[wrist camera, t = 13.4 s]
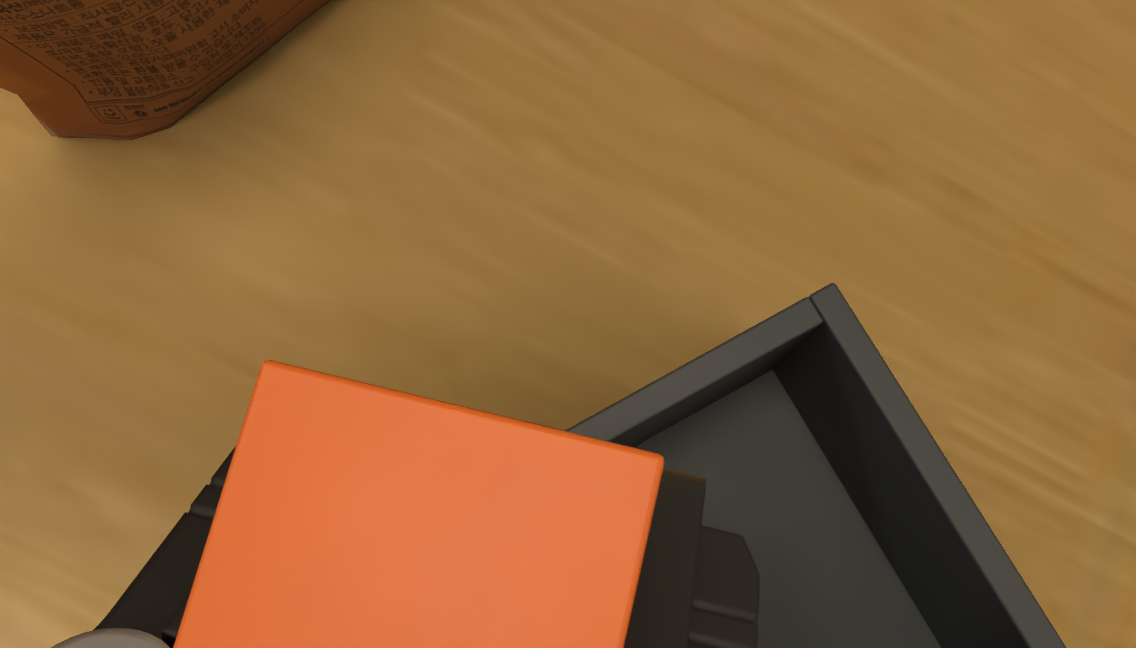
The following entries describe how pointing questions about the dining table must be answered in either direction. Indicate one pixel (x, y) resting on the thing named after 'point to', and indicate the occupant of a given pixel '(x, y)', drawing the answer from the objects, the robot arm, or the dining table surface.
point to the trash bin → (831, 489)
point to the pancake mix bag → (132, 57)
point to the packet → (416, 526)
